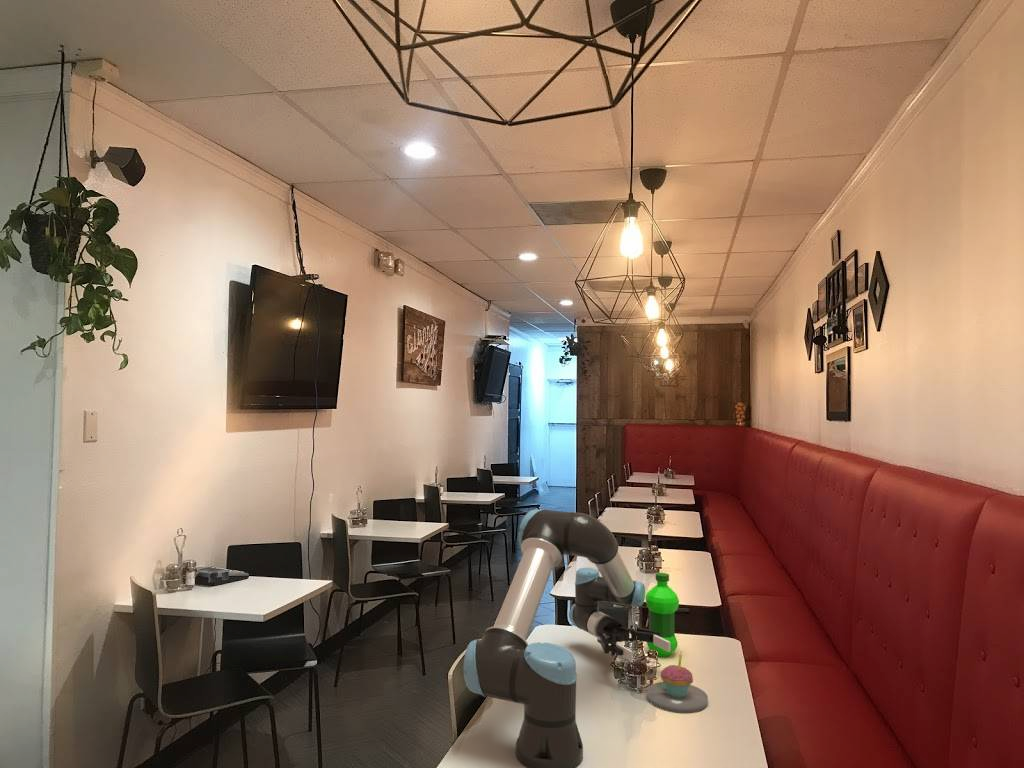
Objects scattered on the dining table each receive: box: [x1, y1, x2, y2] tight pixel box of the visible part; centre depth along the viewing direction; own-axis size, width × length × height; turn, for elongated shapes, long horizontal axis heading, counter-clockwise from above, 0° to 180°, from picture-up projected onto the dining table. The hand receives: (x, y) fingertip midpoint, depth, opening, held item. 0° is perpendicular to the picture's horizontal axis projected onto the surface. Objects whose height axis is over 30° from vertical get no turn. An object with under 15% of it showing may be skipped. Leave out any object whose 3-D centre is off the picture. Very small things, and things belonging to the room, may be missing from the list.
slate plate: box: [645, 681, 709, 714], centre depth 183 cm, size 16×16×2 cm
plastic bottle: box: [645, 572, 680, 658], centre depth 217 cm, size 10×10×25 cm
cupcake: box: [660, 651, 694, 697], centre depth 184 cm, size 9×8×12 cm
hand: (651, 651), depth 191 cm, fingers open, 13 cm apart
